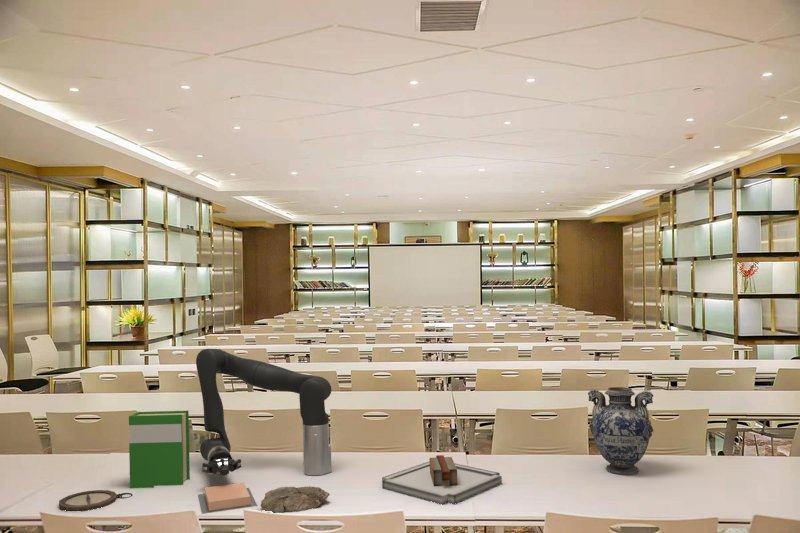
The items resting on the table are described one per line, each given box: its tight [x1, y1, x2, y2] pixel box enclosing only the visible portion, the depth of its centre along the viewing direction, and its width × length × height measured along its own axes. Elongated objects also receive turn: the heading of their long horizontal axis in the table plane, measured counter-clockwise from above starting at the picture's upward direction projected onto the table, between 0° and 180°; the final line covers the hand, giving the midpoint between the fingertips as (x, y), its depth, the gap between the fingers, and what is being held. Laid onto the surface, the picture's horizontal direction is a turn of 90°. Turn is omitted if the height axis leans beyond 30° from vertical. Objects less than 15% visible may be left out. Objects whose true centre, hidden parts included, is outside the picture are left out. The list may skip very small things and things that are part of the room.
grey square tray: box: [381, 454, 503, 506], centre depth 213 cm, size 30×30×8 cm
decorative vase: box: [587, 386, 654, 476], centre depth 223 cm, size 21×19×28 cm
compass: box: [58, 489, 134, 512], centre depth 204 cm, size 20×16×2 cm
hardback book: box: [128, 410, 191, 489], centre depth 222 cm, size 18×7×24 cm, turn 90°
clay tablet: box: [260, 485, 331, 513], centre depth 198 cm, size 14×5×20 cm
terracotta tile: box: [204, 482, 250, 511], centre depth 200 cm, size 12×3×15 cm
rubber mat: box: [197, 487, 258, 515], centre depth 201 cm, size 16×19×1 cm
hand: (224, 472), depth 205 cm, fingers closed
